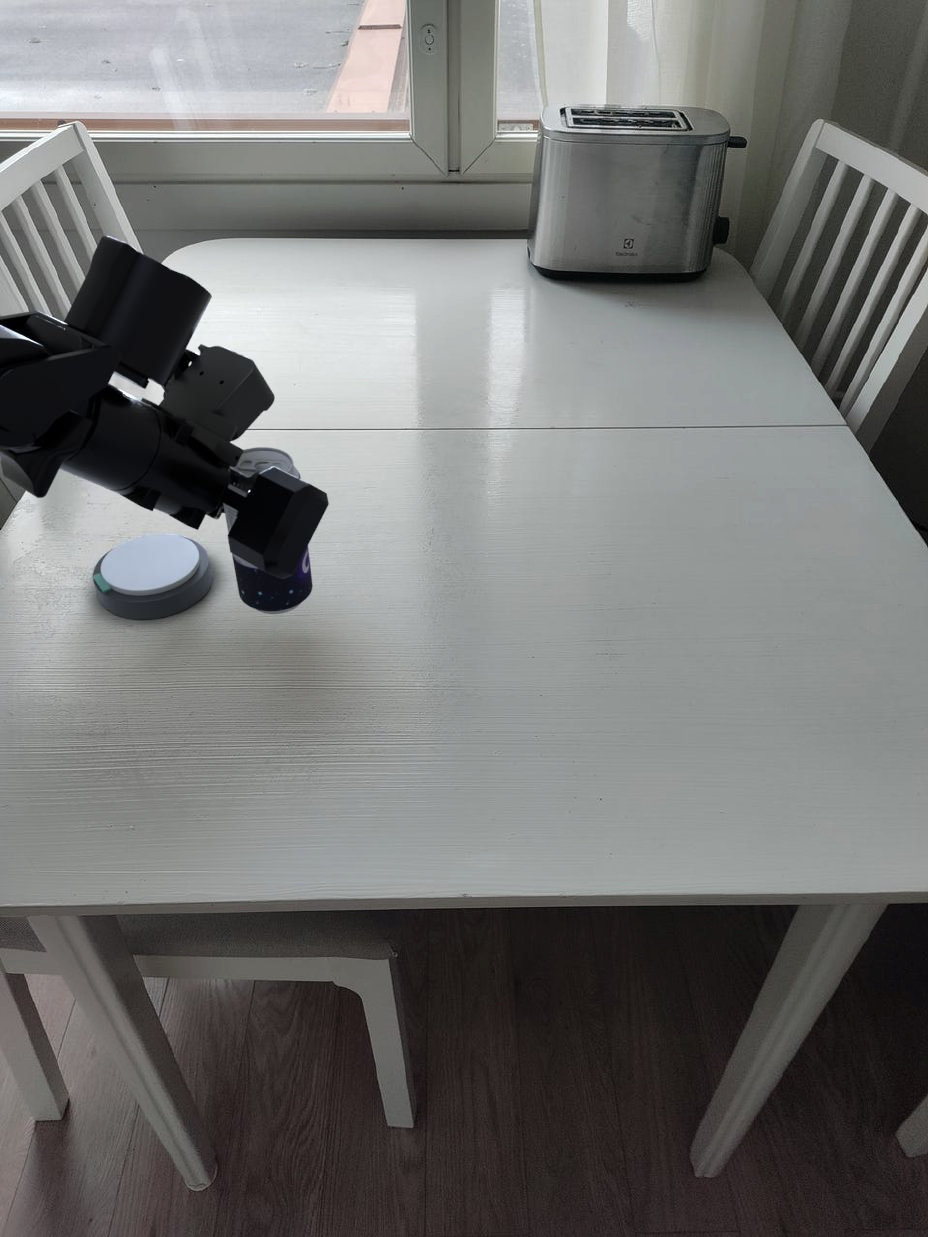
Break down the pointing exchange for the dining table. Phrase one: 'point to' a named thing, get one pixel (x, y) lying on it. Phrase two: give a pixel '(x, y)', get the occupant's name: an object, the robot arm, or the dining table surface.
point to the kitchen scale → (153, 576)
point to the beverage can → (252, 581)
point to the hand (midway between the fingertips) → (280, 520)
